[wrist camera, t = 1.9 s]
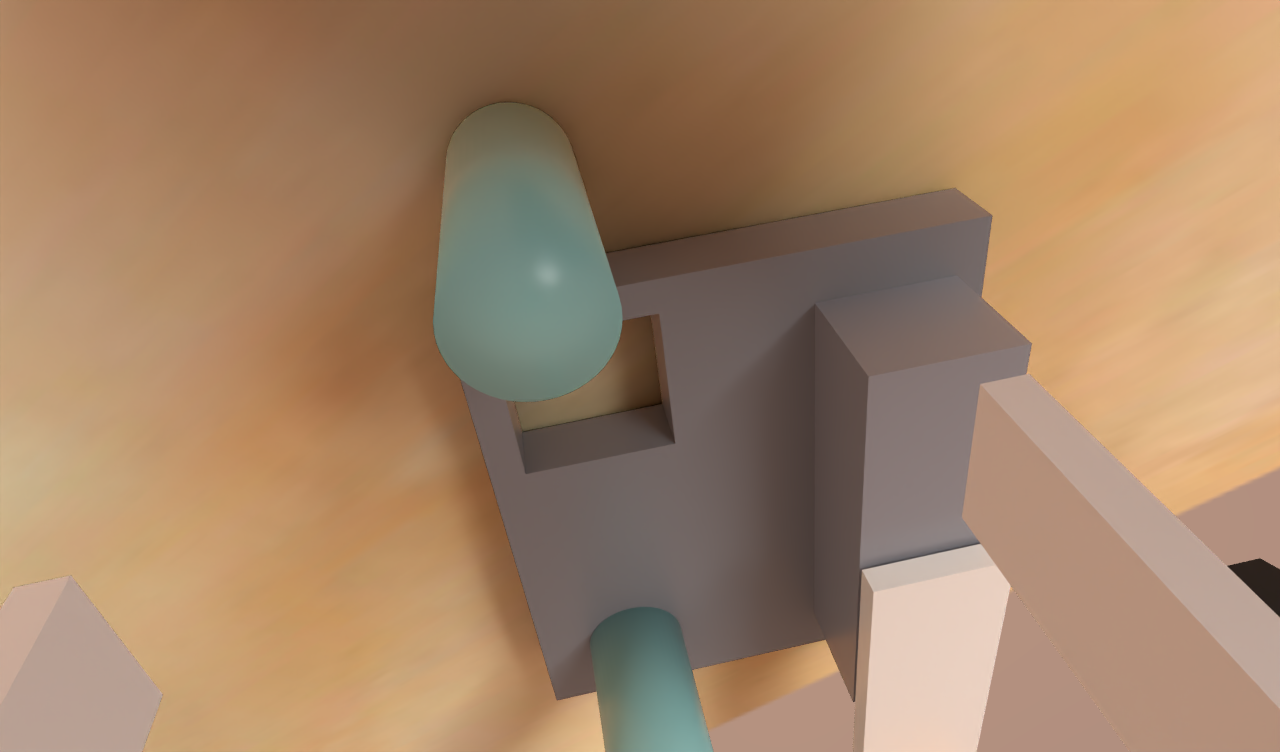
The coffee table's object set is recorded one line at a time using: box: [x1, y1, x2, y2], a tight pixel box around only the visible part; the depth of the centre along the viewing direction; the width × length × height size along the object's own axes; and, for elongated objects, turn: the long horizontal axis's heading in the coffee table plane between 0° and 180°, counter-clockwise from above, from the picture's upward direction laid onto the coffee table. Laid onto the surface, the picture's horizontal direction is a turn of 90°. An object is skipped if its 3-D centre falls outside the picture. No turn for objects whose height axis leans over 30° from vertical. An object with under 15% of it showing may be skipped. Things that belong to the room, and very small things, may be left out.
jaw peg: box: [433, 102, 623, 402], centre depth 22 cm, size 4×4×10 cm
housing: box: [460, 188, 1032, 752], centre depth 29 cm, size 20×18×12 cm
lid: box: [853, 544, 1011, 752], centre depth 31 cm, size 16×5×4 cm, turn 7°
